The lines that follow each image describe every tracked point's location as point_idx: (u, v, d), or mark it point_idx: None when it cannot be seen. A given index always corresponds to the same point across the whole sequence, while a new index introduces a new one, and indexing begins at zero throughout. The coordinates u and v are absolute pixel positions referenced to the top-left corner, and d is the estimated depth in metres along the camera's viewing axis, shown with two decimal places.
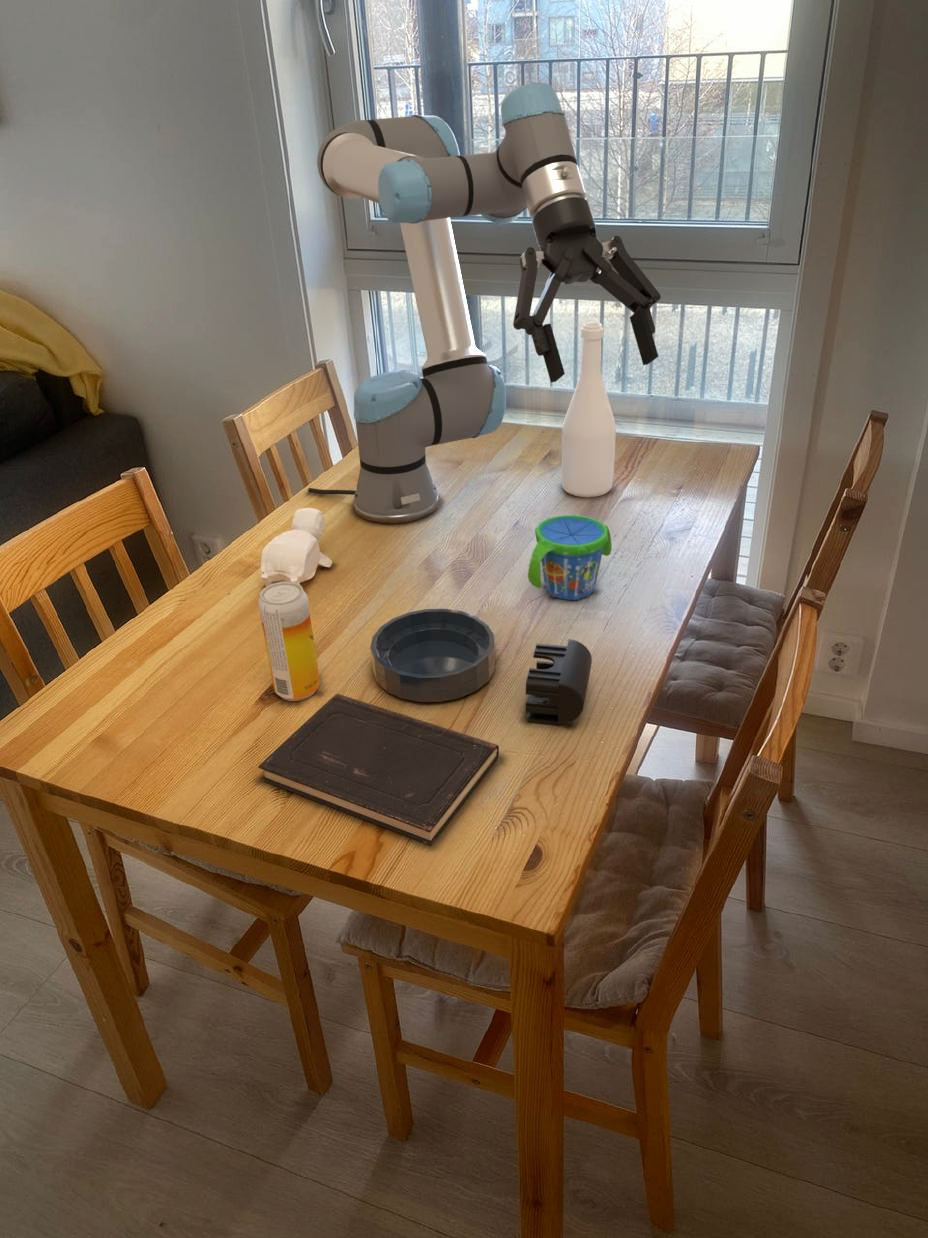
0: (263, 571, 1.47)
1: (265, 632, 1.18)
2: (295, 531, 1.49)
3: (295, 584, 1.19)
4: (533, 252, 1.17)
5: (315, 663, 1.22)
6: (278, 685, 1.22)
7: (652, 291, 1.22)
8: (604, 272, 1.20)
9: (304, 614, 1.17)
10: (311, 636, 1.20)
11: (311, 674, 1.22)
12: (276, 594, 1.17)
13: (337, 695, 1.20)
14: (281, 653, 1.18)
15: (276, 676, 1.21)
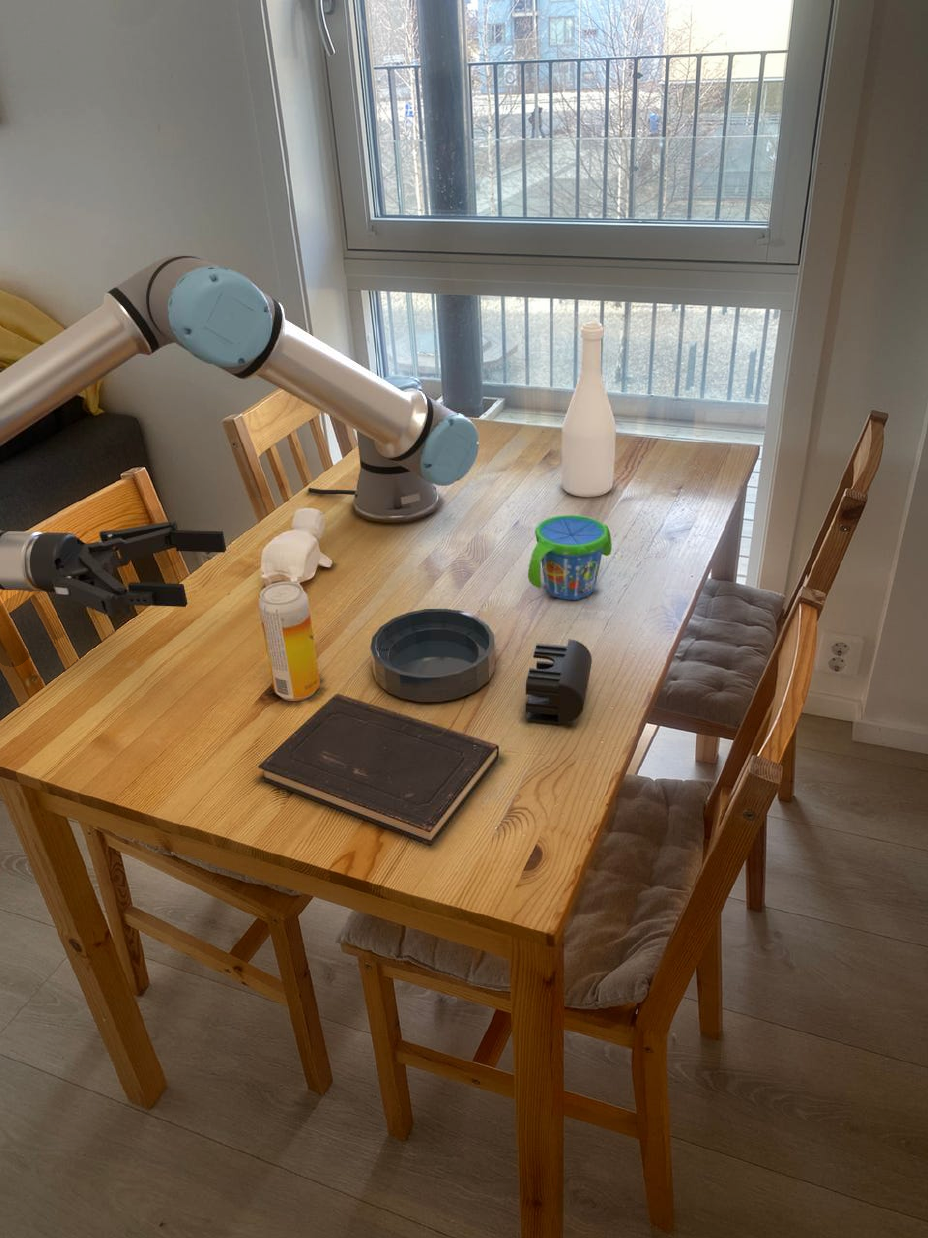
0: (263, 571, 1.47)
1: (265, 632, 1.18)
2: (295, 531, 1.49)
3: (295, 584, 1.19)
4: None
5: (315, 663, 1.22)
6: (278, 685, 1.22)
7: None
8: None
9: (304, 614, 1.17)
10: (311, 636, 1.20)
11: (311, 674, 1.22)
12: (276, 594, 1.17)
13: (337, 695, 1.20)
14: (281, 653, 1.18)
15: (276, 676, 1.21)
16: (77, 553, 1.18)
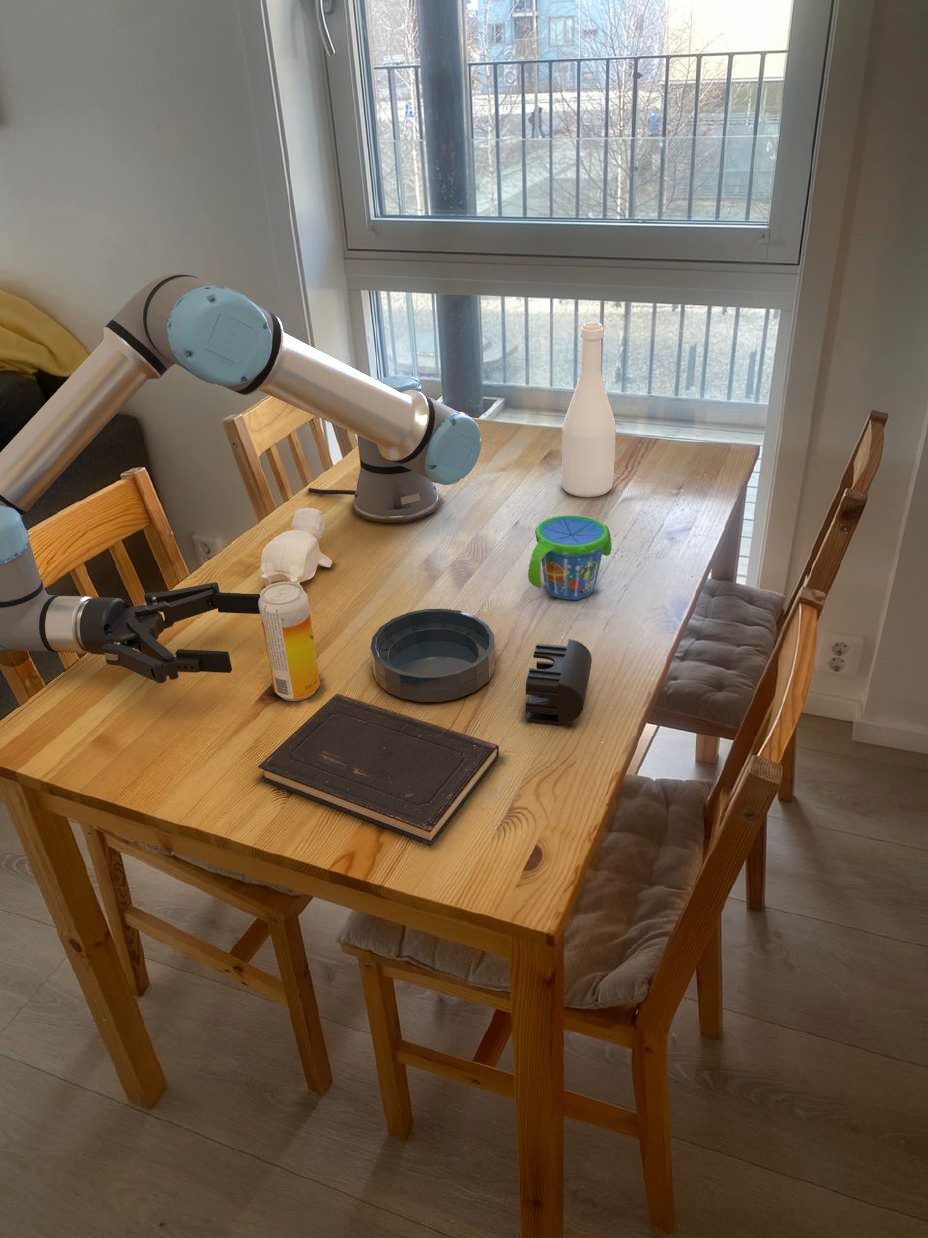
0: (263, 571, 1.47)
1: (265, 632, 1.18)
2: (295, 531, 1.49)
3: (295, 584, 1.19)
4: None
5: (315, 663, 1.22)
6: (278, 684, 1.22)
7: None
8: None
9: (304, 614, 1.17)
10: (311, 636, 1.20)
11: (311, 674, 1.22)
12: (276, 594, 1.17)
13: (337, 695, 1.20)
14: (281, 653, 1.18)
15: (276, 676, 1.21)
16: (124, 617, 1.23)
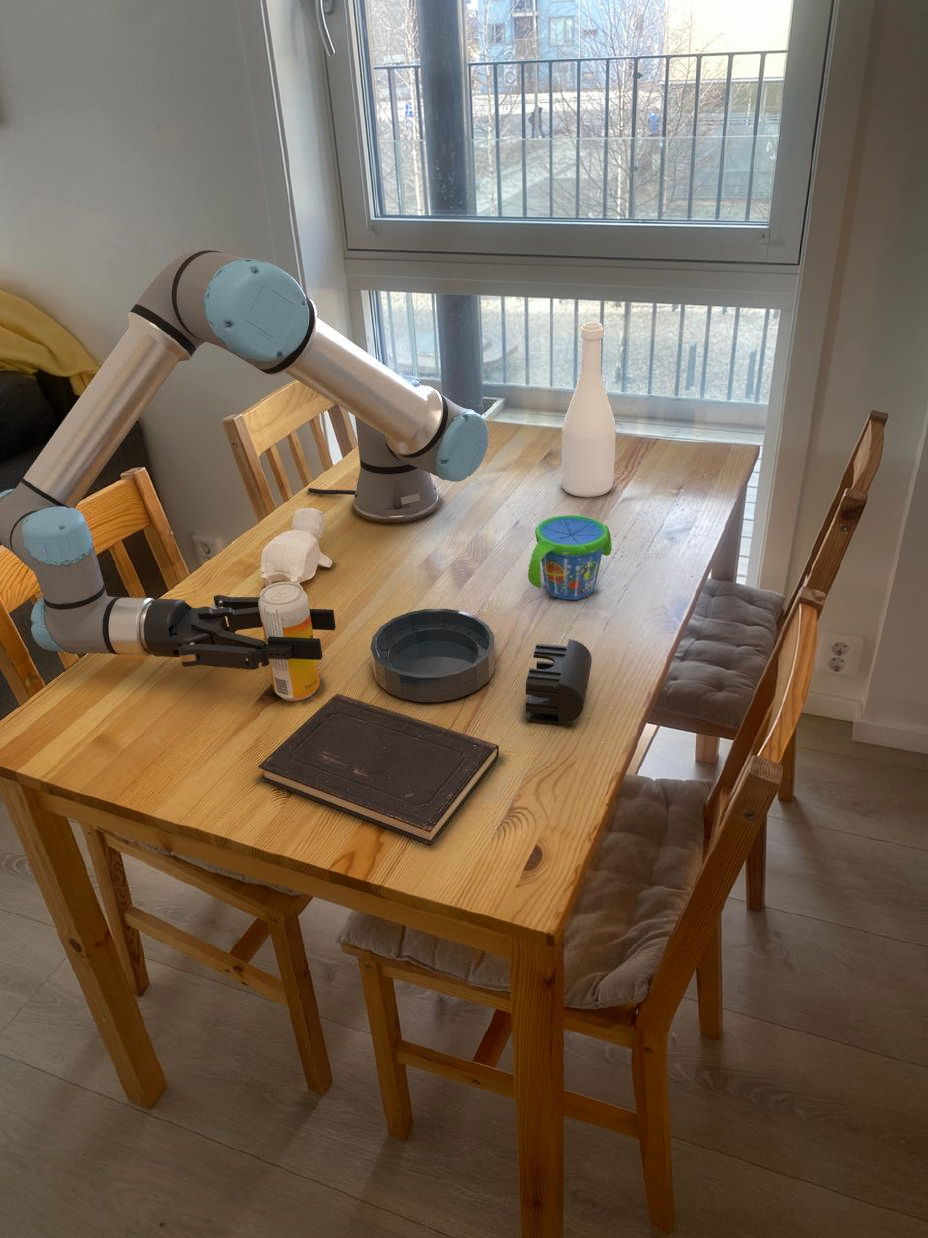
0: (263, 571, 1.47)
1: (265, 632, 1.18)
2: (295, 531, 1.49)
3: (295, 584, 1.19)
4: None
5: (315, 663, 1.22)
6: (278, 684, 1.22)
7: None
8: None
9: (304, 614, 1.17)
10: (311, 636, 1.20)
11: (311, 674, 1.22)
12: (276, 594, 1.17)
13: (337, 695, 1.20)
14: None
15: (276, 676, 1.21)
16: (187, 619, 1.22)
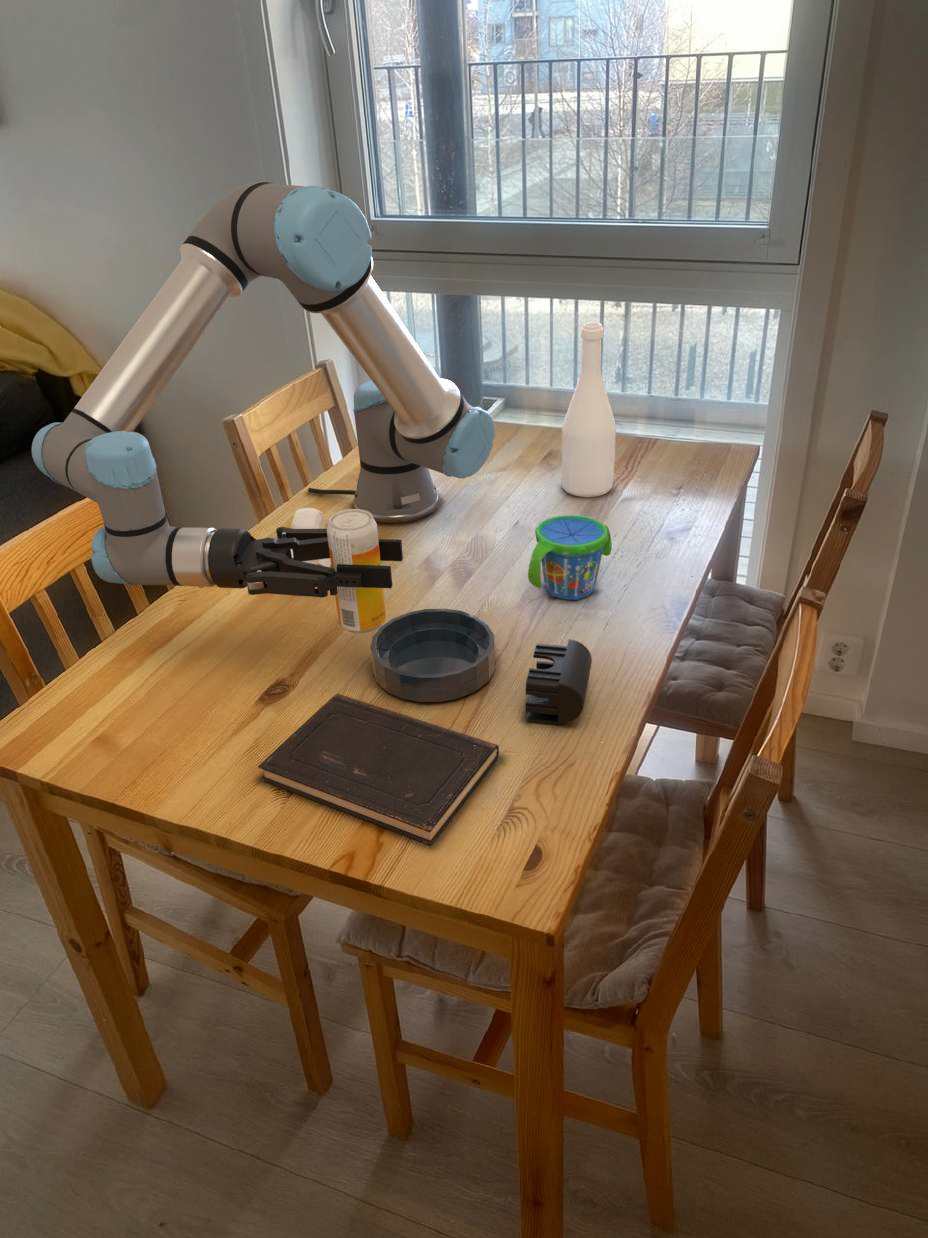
0: None
1: (333, 560, 1.15)
2: None
3: (364, 511, 1.15)
4: None
5: (382, 594, 1.19)
6: (344, 616, 1.18)
7: None
8: None
9: (373, 541, 1.14)
10: None
11: (379, 605, 1.18)
12: (346, 520, 1.14)
13: (337, 695, 1.20)
14: None
15: (343, 607, 1.18)
16: (251, 549, 1.19)
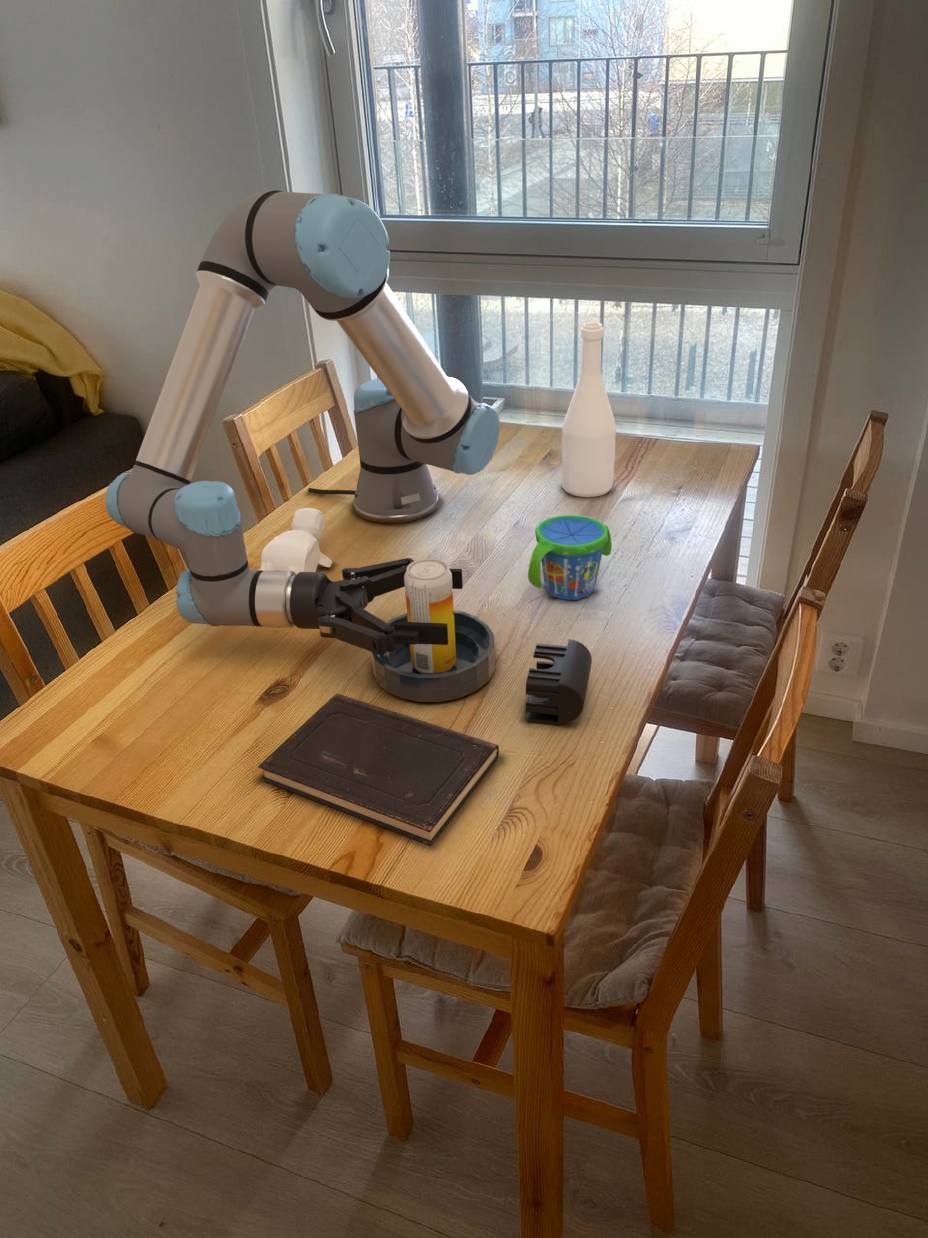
0: None
1: (410, 607, 1.20)
2: (295, 531, 1.49)
3: (438, 560, 1.21)
4: None
5: (454, 639, 1.25)
6: (418, 660, 1.24)
7: None
8: None
9: (449, 589, 1.19)
10: (453, 612, 1.22)
11: (451, 649, 1.24)
12: (422, 570, 1.19)
13: (337, 695, 1.20)
14: None
15: (417, 651, 1.23)
16: (329, 591, 1.24)
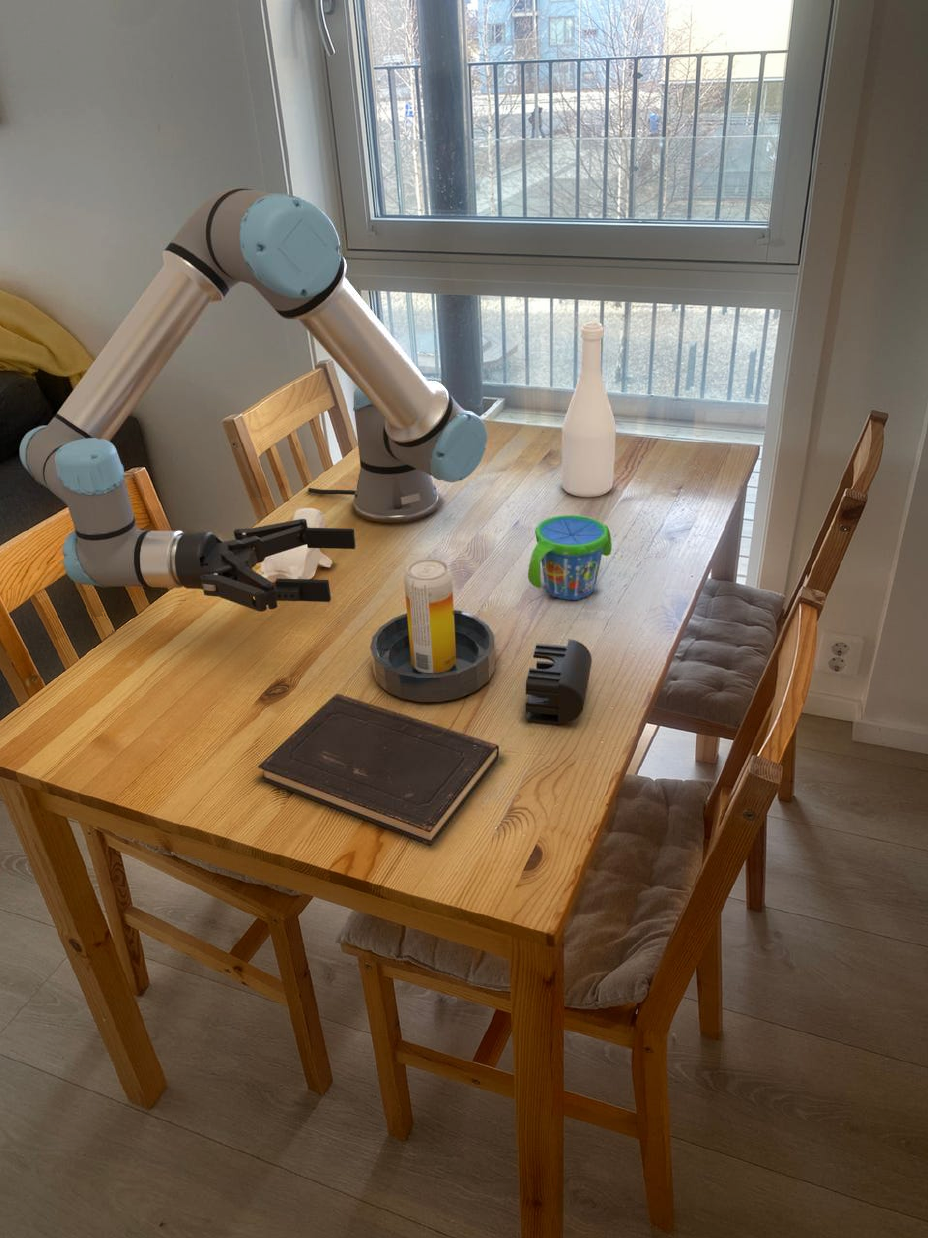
0: (263, 571, 1.47)
1: (410, 607, 1.20)
2: None
3: (438, 560, 1.21)
4: None
5: (454, 639, 1.25)
6: (418, 660, 1.24)
7: None
8: None
9: (449, 589, 1.19)
10: (453, 612, 1.22)
11: (451, 649, 1.24)
12: (422, 569, 1.19)
13: (337, 695, 1.20)
14: (426, 628, 1.21)
15: (417, 651, 1.23)
16: (217, 551, 1.23)
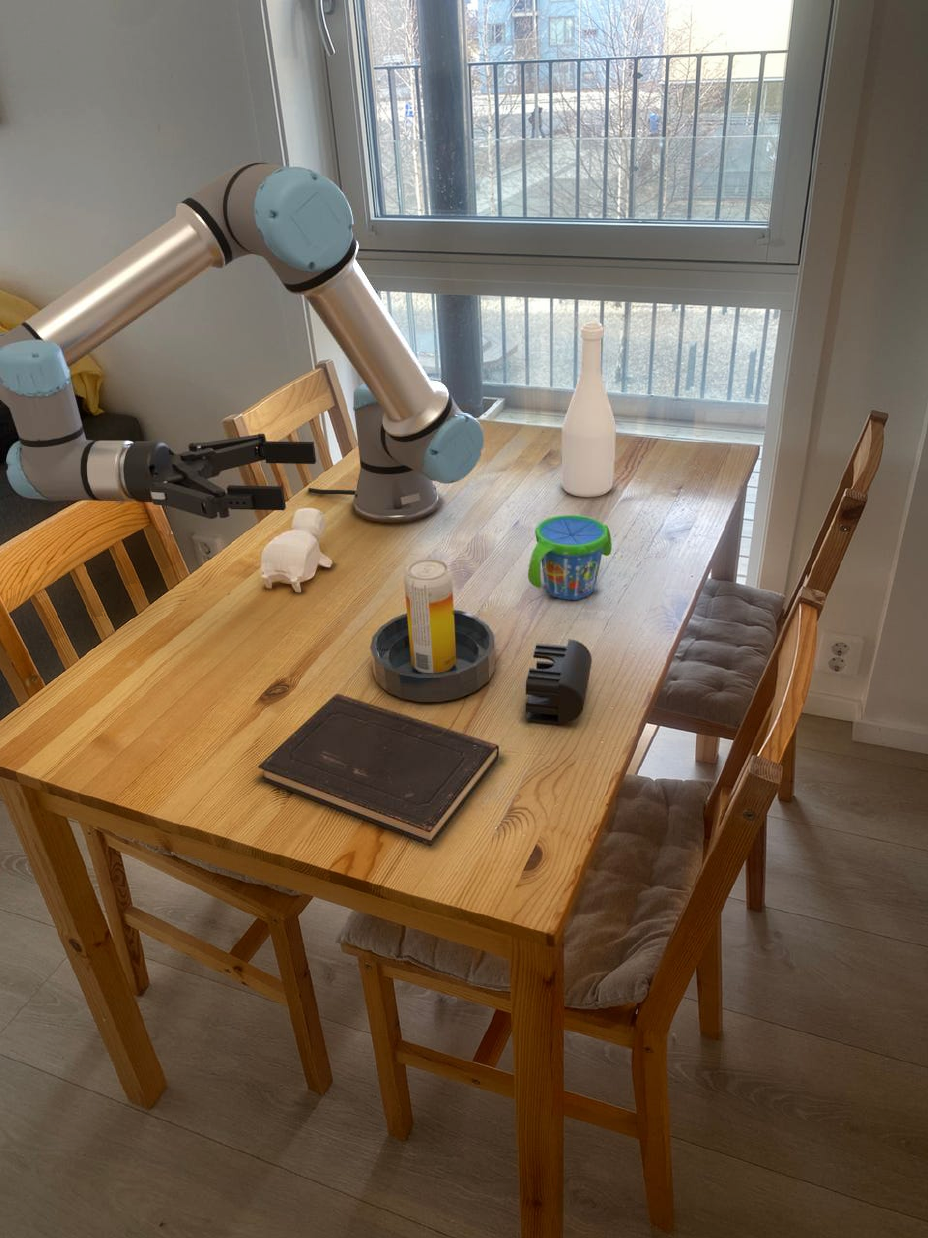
0: (263, 571, 1.47)
1: (410, 607, 1.20)
2: (295, 531, 1.49)
3: (438, 560, 1.21)
4: None
5: (454, 639, 1.25)
6: (418, 660, 1.24)
7: None
8: None
9: (449, 589, 1.19)
10: (453, 612, 1.22)
11: (451, 649, 1.24)
12: (422, 569, 1.19)
13: (337, 695, 1.20)
14: (426, 628, 1.21)
15: (417, 651, 1.23)
16: (169, 462, 1.17)
